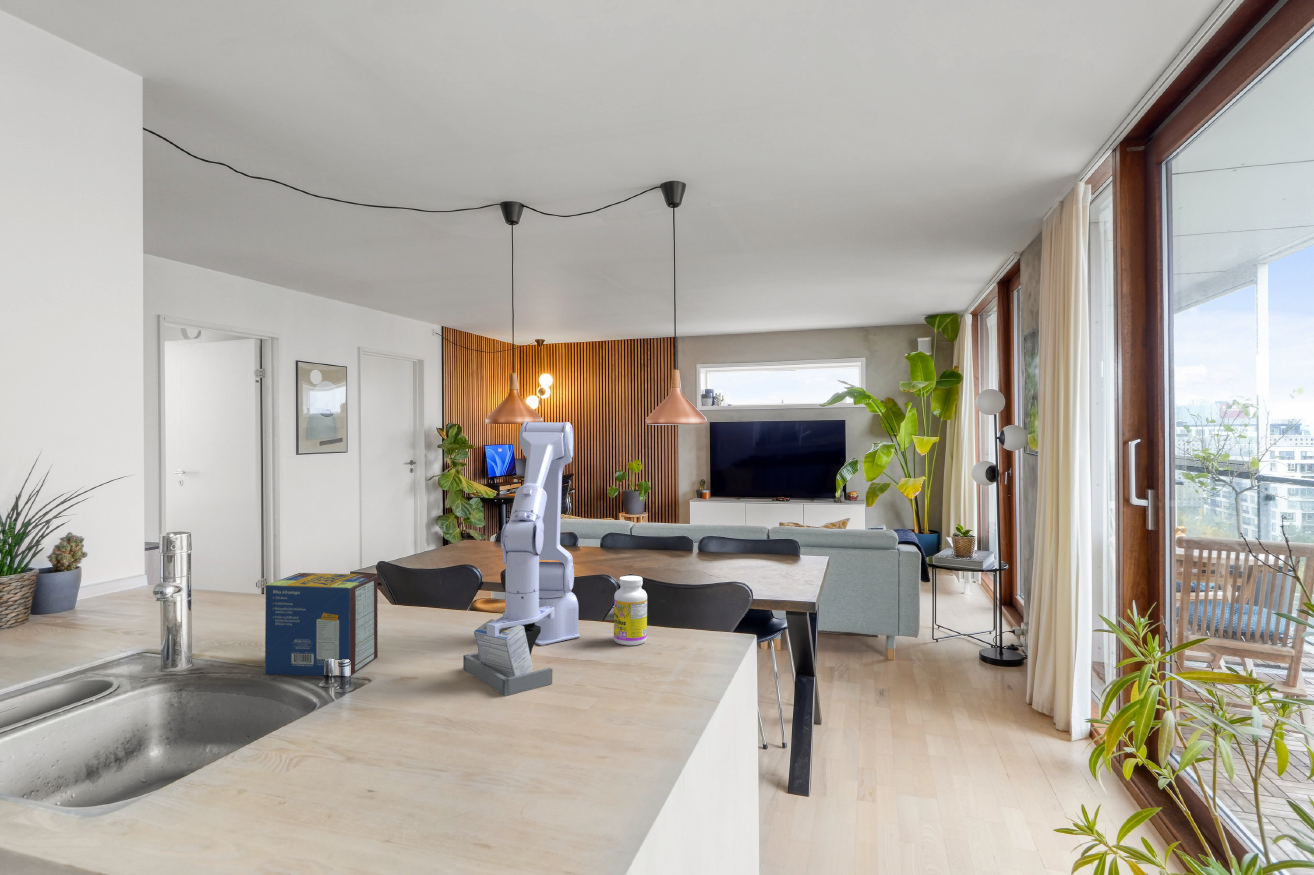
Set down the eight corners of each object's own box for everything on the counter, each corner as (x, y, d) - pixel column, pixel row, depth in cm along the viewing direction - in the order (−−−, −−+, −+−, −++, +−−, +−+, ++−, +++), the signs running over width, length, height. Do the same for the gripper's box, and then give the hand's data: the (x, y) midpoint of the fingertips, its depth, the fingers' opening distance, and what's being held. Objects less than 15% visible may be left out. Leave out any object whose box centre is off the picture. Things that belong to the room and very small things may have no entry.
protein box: (298, 655, 129) (298, 572, 129) (378, 657, 128) (379, 573, 128) (262, 674, 118) (263, 584, 118) (350, 677, 118) (350, 586, 117)
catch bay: (508, 659, 127) (508, 646, 127) (552, 683, 115) (552, 668, 115) (463, 669, 122) (463, 655, 122) (504, 696, 110) (504, 680, 110)
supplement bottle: (608, 639, 141) (609, 575, 141) (637, 634, 144) (638, 573, 144) (622, 648, 135) (622, 582, 135) (652, 643, 138) (653, 579, 138)
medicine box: (534, 670, 118) (525, 624, 116) (516, 685, 115) (506, 638, 113) (500, 661, 123) (491, 617, 121) (482, 675, 119) (472, 630, 117)
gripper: (534, 579, 128) (534, 652, 129) (474, 594, 116) (473, 675, 117) (563, 584, 125) (563, 659, 125) (503, 600, 113) (503, 683, 113)
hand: (521, 667), depth 120 cm, fingers closed, pressing on medicine box
